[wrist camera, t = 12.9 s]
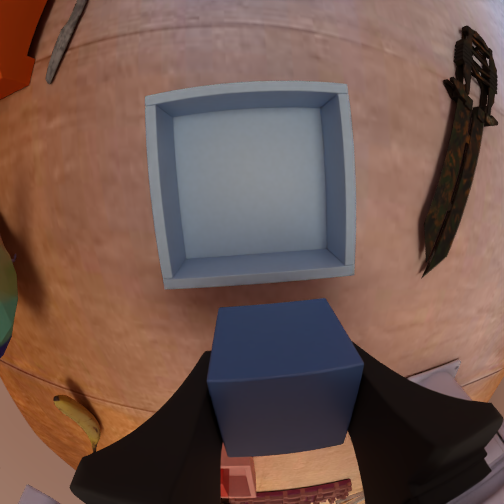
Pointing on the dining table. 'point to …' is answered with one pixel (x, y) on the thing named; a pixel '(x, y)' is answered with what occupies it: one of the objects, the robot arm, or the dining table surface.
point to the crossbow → (357, 500)
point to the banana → (79, 417)
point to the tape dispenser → (17, 42)
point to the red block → (224, 482)
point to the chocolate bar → (301, 495)
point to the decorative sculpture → (7, 297)
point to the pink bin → (239, 475)
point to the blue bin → (252, 182)
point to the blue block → (282, 378)
